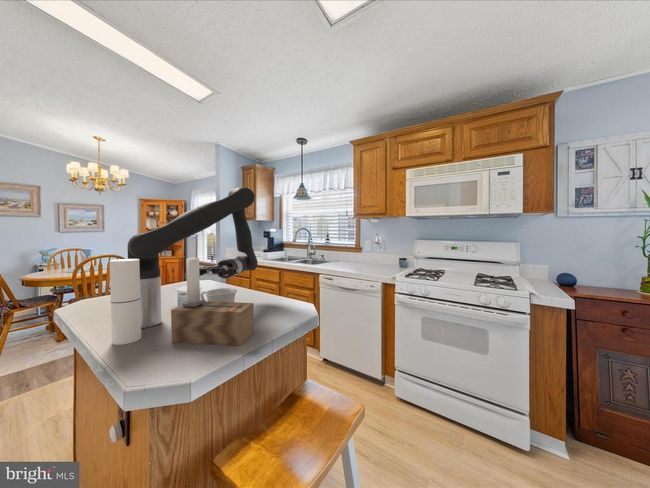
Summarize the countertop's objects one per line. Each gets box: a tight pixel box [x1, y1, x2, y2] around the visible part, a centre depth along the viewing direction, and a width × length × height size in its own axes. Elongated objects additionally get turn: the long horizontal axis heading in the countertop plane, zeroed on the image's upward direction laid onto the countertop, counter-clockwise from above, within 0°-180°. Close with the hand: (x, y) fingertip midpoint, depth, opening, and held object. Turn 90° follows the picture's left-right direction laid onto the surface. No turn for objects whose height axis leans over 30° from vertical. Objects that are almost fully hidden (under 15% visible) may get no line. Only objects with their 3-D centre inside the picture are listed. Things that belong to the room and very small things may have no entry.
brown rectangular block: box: [170, 301, 255, 346], centre depth 80 cm, size 22×10×10 cm, turn 84°
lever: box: [181, 257, 205, 307], centre depth 80 cm, size 4×5×15 cm
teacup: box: [200, 287, 238, 302], centre depth 101 cm, size 12×15×10 cm
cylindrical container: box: [109, 258, 142, 346], centre depth 77 cm, size 7×7×25 cm
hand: (207, 273), depth 88 cm, fingers open, 8 cm apart
